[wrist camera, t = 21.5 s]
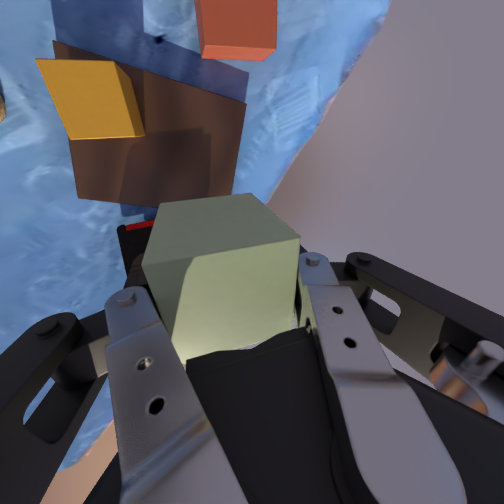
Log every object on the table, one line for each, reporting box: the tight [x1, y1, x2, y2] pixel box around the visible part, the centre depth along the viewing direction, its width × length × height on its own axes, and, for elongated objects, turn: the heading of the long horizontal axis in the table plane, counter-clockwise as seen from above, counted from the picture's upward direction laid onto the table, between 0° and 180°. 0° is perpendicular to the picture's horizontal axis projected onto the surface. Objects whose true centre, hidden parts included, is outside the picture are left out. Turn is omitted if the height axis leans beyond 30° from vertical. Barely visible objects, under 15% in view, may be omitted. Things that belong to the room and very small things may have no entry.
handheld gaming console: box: [117, 220, 155, 277], centre depth 31 cm, size 9×12×10 cm
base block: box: [194, 0, 277, 61], centre depth 19 cm, size 7×7×4 cm
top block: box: [35, 58, 145, 140], centre depth 19 cm, size 5×5×6 cm
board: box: [53, 40, 247, 208], centre depth 24 cm, size 18×14×1 cm
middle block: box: [141, 193, 301, 364], centre depth 10 cm, size 5×5×6 cm
